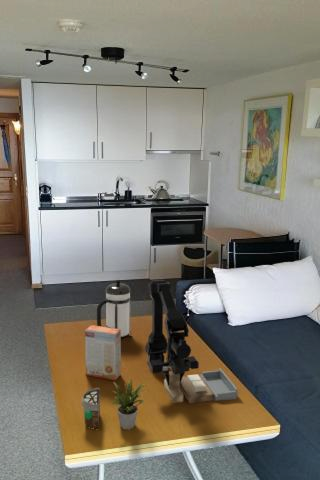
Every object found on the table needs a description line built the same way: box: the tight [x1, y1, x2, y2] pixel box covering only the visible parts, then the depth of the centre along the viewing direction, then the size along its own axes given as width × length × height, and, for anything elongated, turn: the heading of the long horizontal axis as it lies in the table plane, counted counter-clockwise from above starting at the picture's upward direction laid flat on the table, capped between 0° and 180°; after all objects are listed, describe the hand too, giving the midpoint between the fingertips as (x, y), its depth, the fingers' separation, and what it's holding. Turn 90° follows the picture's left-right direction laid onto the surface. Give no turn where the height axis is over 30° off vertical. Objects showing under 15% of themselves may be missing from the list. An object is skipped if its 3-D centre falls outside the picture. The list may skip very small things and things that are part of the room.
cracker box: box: [84, 324, 122, 381], centre depth 193 cm, size 14×6×21 cm, turn 71°
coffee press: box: [96, 279, 133, 338], centre depth 232 cm, size 17×16×30 cm
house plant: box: [110, 378, 148, 430], centre depth 157 cm, size 14×14×16 cm
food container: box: [80, 387, 101, 430], centre depth 161 cm, size 12×6×10 cm, turn 5°
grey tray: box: [199, 367, 239, 402], centre depth 186 cm, size 9×18×4 cm, turn 15°
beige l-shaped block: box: [163, 370, 184, 404], centre depth 180 cm, size 4×13×9 cm, turn 15°
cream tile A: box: [191, 381, 206, 392], centre depth 181 cm, size 4×4×2 cm
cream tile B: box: [186, 373, 201, 385], centre depth 186 cm, size 4×4×2 cm
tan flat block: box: [179, 374, 215, 404], centre depth 183 cm, size 10×16×2 cm, turn 15°
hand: (173, 384), depth 181 cm, fingers closed on beige l-shaped block, 4 cm apart
